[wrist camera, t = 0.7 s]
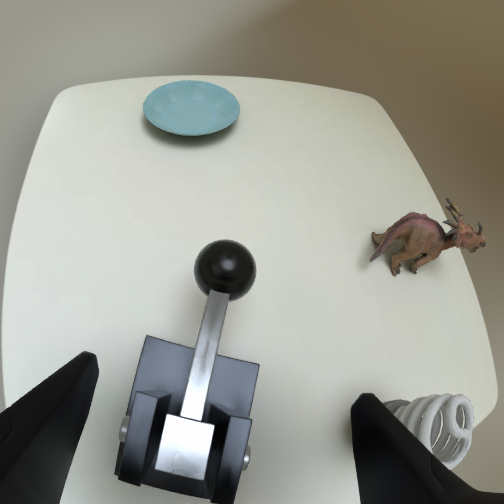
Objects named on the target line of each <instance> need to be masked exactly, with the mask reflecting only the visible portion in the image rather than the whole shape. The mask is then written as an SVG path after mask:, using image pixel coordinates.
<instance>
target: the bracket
mask: <svg viewBox="0 0 504 504" xmlns="http://www.w3.org/2000/svg"><path fill="white" fill-rule="evenodd" d="M194 350H195V349H193V348H190V347H186V346H182V345H179V344H175V343H172V342H168V341H165V340H162V339H158V338H155V337H152V336H149V335H146V338H145V342H144V345H143V349H142V352H141V356H140V360H139V363H138V367H137V371H136V375H135V379H134V383H133V387H132V391H131V395H130V399H129V403H128V408H127V412H126V416H125V417H124V419H123V422H122V424H121V428H120V433H119V440H120V445H119V450H118V456H117V461H116V467H115V472H114V474H115V475H117V476H118V480H121V481H123V482H126V483H129V484H133V485H136V486H139V487H140V486H141V484H145V485H148V486H152V487H155V488H159V489H163V490H167V491H171V492H175V493H179V494H184V495H189V496H194V497H199V498H205V499H210V502H211V503H215V504H234V500H235V496H236V492H237V488H238V483H239V479H240V475H241V470H246V468H247V466H248V463H249V459H250V447H249V445H247V443H248V439H249V434H250V429H251V425H252V419H251V418H249V415H250V410H251V406H252V401H253V396H254V391H255V386H256V381H257V376H258V371H259V366H260V365H259V364H257V363H252V362H247V361H243V360H238V359H234V358H229V357H225V356H221V355H216V359H215V364H214V369H213V373H212V378H211V382H210V387H209V392H208V396H207V401H206V406H205V410H204V415H203V420H202V422H204V423H209V424H214V425H215V429H214V434H213V439H212V444H211V449H210V454H209V459H208V464H207V469H206V474H205V479H204V480H197V479H193V478H188V477H183V476H179V475H175V474H171V473H167V472H163V471H159V470H156V469H154V466H155V461H156V457H157V452H158V448H159V443H160V439H161V434H162V430H163V425H164V421H165V417H166V414H167V413H168V414H172V415H176V416H179V413H180V409H181V404H182V400H183V396H184V391H185V387H186V383H187V379H188V375H189V370H190V366H191V362H192V358H193V354H194Z"/></svg>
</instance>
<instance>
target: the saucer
mask: <svg viewBox="0 0 504 504" xmlns="http://www.w3.org/2000/svg"><path fill="white" fill-rule="evenodd" d="M143 112H144V115H145V117H146V118H147V119H148V120H149V121H150V122H151V123H152V124H153V125H155V126H156V127H158V128H160V129H162V130H164V131H167V132H169V133H173V134H177V135H182V136H200V135H206V134H211V133H214V132H217V131H220V130H222V129H224V128H226V127H228V126H230V125H231V124H232V123H233V122H234V121H235V120H236V119H237V118H238V116H239V112H240V105H239V102H238V101H237V99H236V98H235V96H233V94H232V93H230V92H229V91H228V90H226V89H224V88H222V87H220V86H218V85H215V84H212V83H208V82H203V81H193V80H187V81H177V82H172V83H168V84H166V85H163V86H161V87H159V88H157V89H155V90H154V91H153V92H151V93H150V94H149V95H148V96H147V98H146V99H145V101H144V103H143Z"/></svg>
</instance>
